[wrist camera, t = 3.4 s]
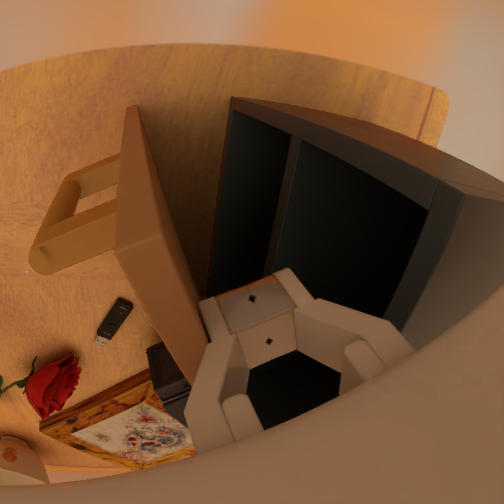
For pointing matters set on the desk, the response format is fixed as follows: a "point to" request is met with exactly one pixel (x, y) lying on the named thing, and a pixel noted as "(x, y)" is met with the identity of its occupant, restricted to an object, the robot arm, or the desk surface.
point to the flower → (50, 385)
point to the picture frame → (123, 426)
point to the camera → (168, 381)
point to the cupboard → (349, 232)
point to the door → (129, 241)
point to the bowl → (20, 464)
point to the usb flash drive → (113, 321)
